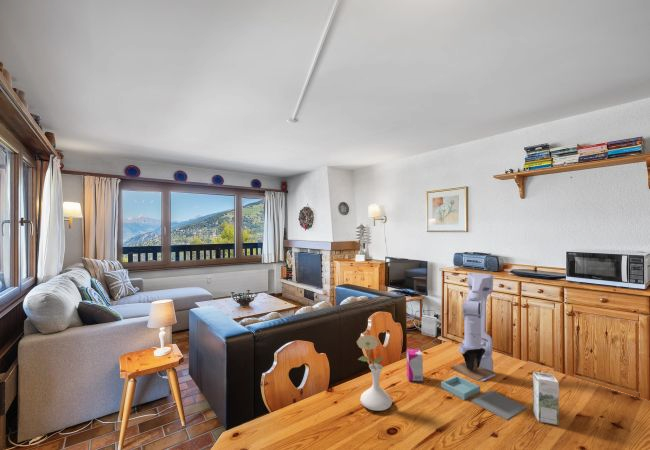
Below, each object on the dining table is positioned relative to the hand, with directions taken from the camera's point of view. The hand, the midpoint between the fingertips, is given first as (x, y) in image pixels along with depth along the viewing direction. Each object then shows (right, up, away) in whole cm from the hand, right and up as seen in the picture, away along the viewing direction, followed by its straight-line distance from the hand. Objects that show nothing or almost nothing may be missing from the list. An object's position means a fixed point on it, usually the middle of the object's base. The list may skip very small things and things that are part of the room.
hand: (472, 367), depth 115 cm
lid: (0, -1, 0) cm, 1 cm away
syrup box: (+17, -11, -15) cm, 25 cm away
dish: (-3, -11, +3) cm, 11 cm away
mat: (+6, -10, -6) cm, 13 cm away
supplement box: (-19, -11, +13) cm, 25 cm away
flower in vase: (-39, -11, -6) cm, 41 cm away
